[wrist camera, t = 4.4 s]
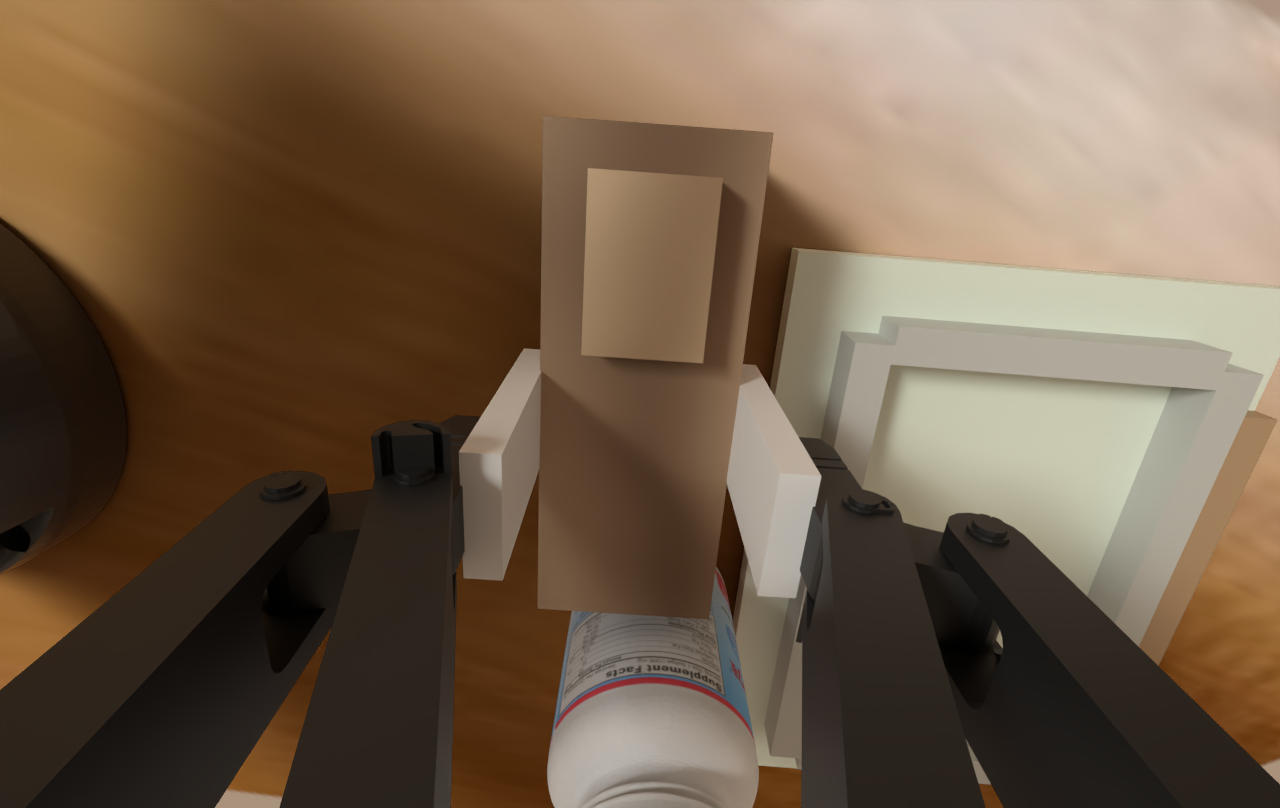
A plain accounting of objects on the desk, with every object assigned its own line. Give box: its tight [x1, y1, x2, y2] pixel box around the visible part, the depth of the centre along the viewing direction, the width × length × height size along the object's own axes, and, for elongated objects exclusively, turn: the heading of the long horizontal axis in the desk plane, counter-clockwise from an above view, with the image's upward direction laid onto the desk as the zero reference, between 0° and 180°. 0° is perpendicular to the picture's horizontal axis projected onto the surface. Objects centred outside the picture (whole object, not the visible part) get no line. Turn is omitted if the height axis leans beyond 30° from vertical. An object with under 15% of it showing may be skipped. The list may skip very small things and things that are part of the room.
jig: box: [733, 248, 1280, 785], centre depth 22 cm, size 16×22×2 cm
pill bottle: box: [547, 567, 759, 808], centre depth 19 cm, size 6×6×11 cm
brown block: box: [537, 116, 773, 619], centre depth 17 cm, size 5×13×6 cm, turn 176°
